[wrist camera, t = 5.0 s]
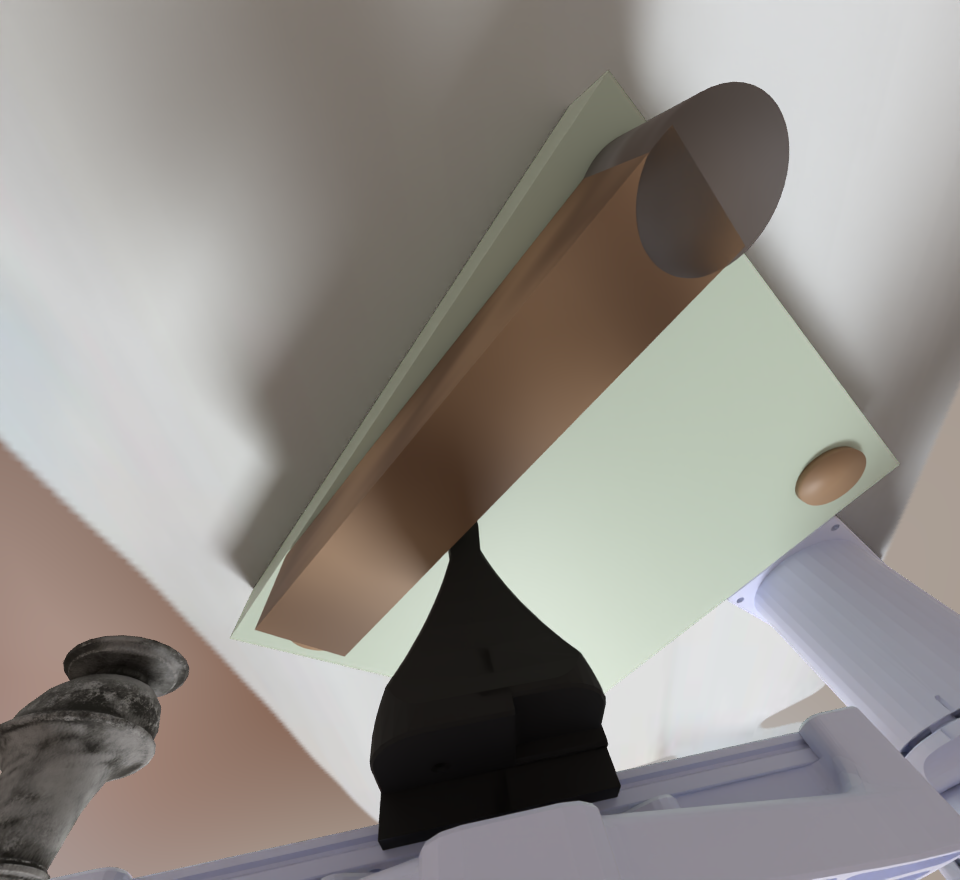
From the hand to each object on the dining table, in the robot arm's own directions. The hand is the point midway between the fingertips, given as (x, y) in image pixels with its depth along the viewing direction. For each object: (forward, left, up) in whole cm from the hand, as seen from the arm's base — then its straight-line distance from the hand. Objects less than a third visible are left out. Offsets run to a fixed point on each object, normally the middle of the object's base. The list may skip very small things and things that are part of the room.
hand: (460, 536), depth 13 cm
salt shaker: (+8, +18, -4) cm, 20 cm away
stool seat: (-6, -1, -4) cm, 7 cm away
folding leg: (+3, -4, -1) cm, 5 cm away
